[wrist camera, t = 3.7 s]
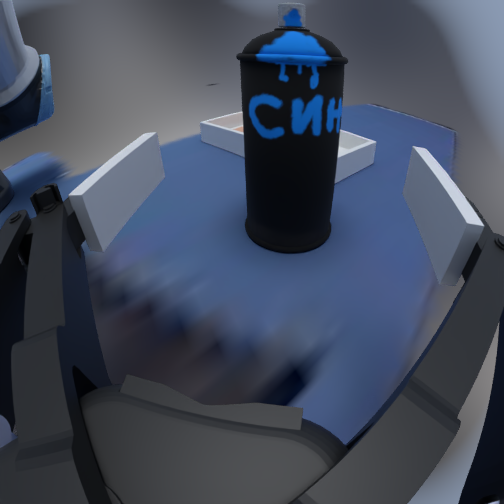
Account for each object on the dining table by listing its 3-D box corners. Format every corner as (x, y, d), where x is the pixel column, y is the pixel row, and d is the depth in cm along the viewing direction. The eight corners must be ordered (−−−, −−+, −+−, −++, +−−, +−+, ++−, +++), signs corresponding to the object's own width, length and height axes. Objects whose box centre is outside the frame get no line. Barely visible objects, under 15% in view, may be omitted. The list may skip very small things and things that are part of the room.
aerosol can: (243, 205, 31) (233, 10, 18) (319, 201, 32) (329, 13, 19) (247, 257, 25) (233, -4, 12) (341, 250, 25) (367, 6, 12)
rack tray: (201, 141, 48) (199, 122, 46) (258, 124, 54) (258, 107, 52) (322, 190, 34) (324, 163, 31) (373, 163, 40) (377, 141, 38)
